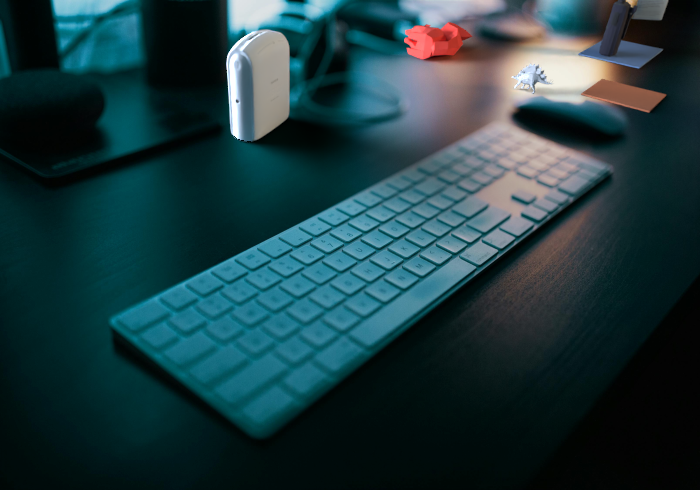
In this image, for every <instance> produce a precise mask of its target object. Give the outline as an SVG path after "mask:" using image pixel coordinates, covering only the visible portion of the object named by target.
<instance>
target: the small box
mask: <svg viewBox="0 0 700 490" xmlns="http://www.w3.org/2000/svg"><path fill="white" fill-rule="evenodd" d="M626 2H628V3H629V4H630V5H631V7H632V8H633V7H634V5H635V6H638V7H637V10H636V12H635V13H634V14H633V16H632V18H631V19H632V20H646V21H662V20H663V17H664V14H665V12H666V10H667V9H666V8H667V6H668V3H669V0H626Z"/></svg>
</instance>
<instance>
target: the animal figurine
mask: <svg viewBox="0 0 700 490" xmlns="http://www.w3.org/2000/svg"><path fill="white" fill-rule="evenodd" d="M404 32H405V35H406V36H407V37H405V38H404V43H405V44H407V45H409V47H406V51H407V54H408V55H410V56H413V57H415V58H417V59H420V60H426V59H429V58H432V57H434V56H455V55H456V54H457V53H458V51H459V50H460V49H461V47H462V46H463V45H464V42H463V41H467V40H468V39H470V38H473V35H472V34H471V33H470V32H468V31H467V29H465V28H463V27H462V26H460V25H458V24H456V23H454V22H450V21H448V22H447V23H446V24H445V25H443V26H442V27H441V28H440V27H434V26H432V25H431V24H427V23H426V24H425V25H422V24H421V25H414V26H413V27H411V28H409V29H405V30H404Z"/></svg>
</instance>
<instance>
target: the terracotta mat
mask: <svg viewBox="0 0 700 490" xmlns="http://www.w3.org/2000/svg"><path fill="white" fill-rule="evenodd" d="M580 95H581V96H584V97H588V98H592V99H596V100H599V101H603V102H607V103H611V104H615V105H618V106H622V107H626V108H629V109H634V110H638V111H641V112H644V113H648V114H649V113H651V112H652V111H653V110H654V109H655V107H656V106H658V105H659V103H661V102H662V100H664V99H665V97H666V96H667V94H666V93H662V92H658V91H654V90H651V89H650V90H649V89H645V88H643V87H642V88H641V87H637V86H633V85H630V84H625V83H621V82H617V81H613V80H609V79H605V78H601V79H600V80H598V81H597V82H595V83H594V84H593V85H591V86H590V87H588V88H587V89H585V90H584V91H582V92H581V93H580Z"/></svg>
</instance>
